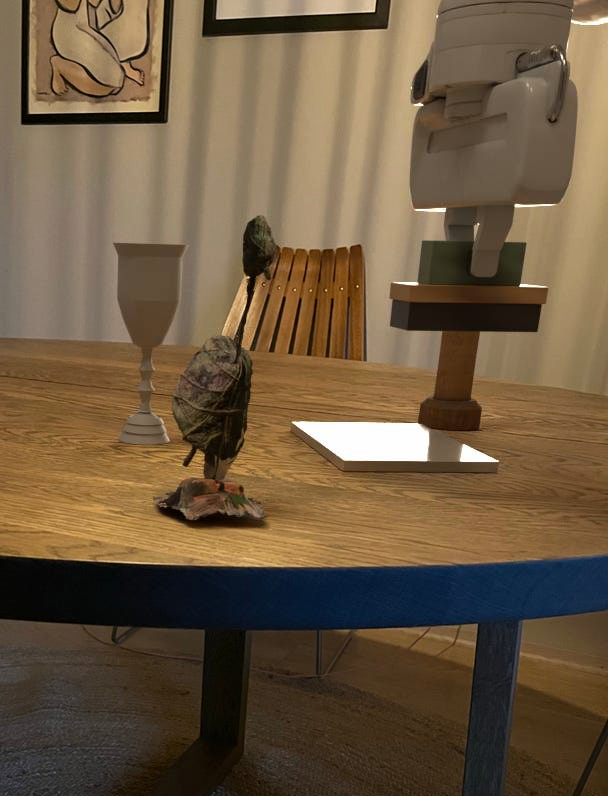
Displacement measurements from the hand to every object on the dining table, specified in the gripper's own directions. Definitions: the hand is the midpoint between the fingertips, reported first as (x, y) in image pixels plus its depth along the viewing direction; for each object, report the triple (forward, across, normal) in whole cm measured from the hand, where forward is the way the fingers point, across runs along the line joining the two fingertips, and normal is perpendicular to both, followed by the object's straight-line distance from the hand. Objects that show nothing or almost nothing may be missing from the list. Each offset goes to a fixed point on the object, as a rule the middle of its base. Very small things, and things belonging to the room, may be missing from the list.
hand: (469, 275), depth 76 cm
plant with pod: (+16, -6, +20) cm, 26 cm away
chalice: (+16, +22, +22) cm, 35 cm away
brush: (+4, 0, 0) cm, 4 cm away
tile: (+16, +18, -1) cm, 25 cm away
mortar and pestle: (+17, +33, -14) cm, 40 cm away
